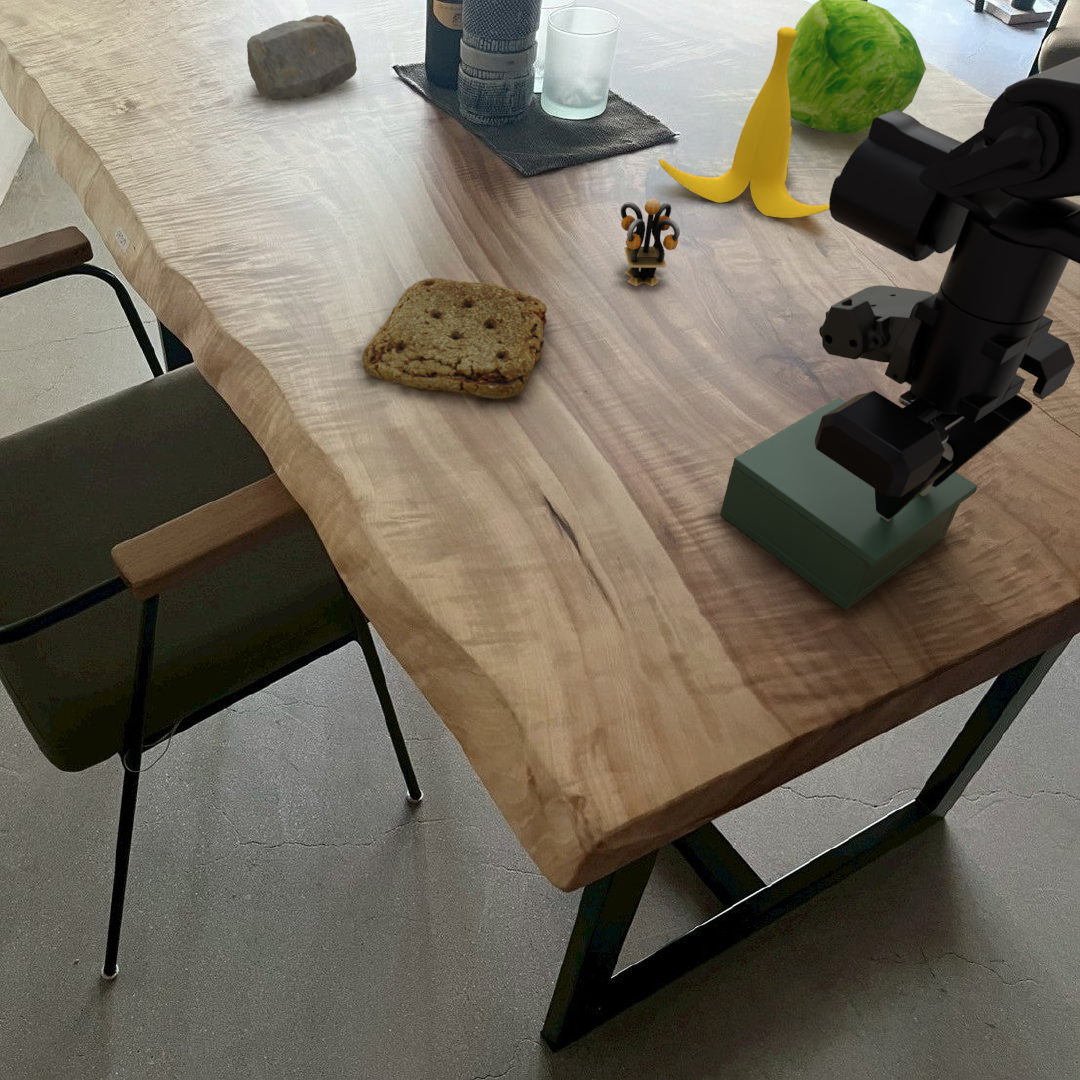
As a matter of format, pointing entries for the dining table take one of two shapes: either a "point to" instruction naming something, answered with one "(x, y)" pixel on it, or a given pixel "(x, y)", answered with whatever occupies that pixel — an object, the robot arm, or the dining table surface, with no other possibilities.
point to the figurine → (647, 240)
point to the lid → (843, 491)
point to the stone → (301, 58)
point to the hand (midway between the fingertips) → (907, 498)
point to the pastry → (459, 339)
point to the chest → (816, 542)
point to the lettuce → (851, 66)
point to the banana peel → (759, 149)
